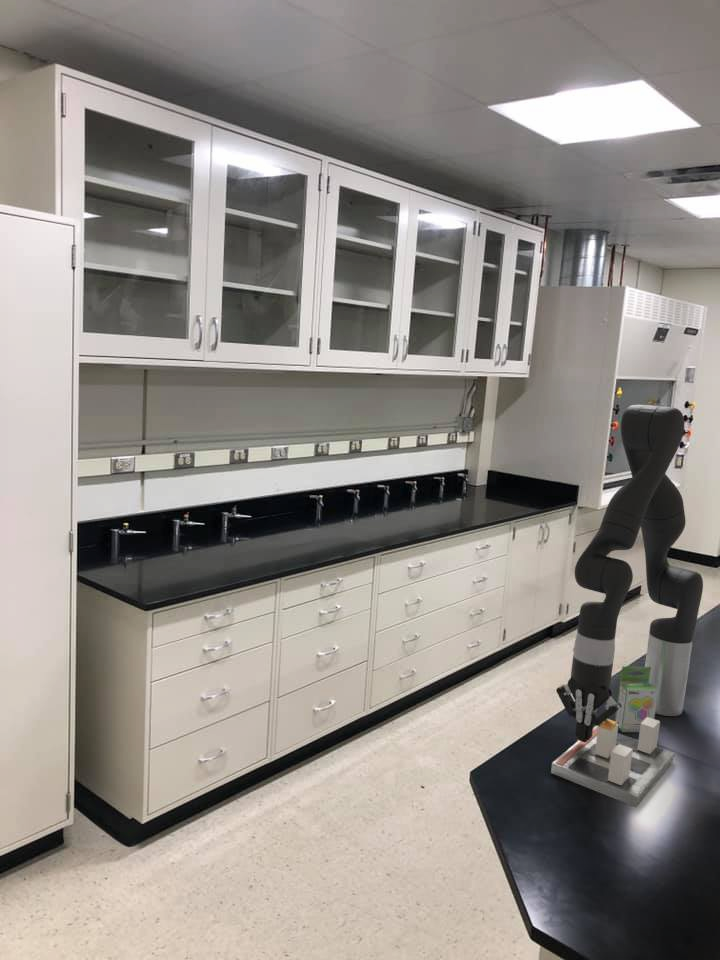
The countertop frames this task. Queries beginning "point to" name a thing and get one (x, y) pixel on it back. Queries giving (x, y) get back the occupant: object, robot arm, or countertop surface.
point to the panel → (594, 769)
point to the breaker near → (620, 764)
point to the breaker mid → (606, 738)
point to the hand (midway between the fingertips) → (583, 739)
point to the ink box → (635, 699)
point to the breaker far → (648, 735)
